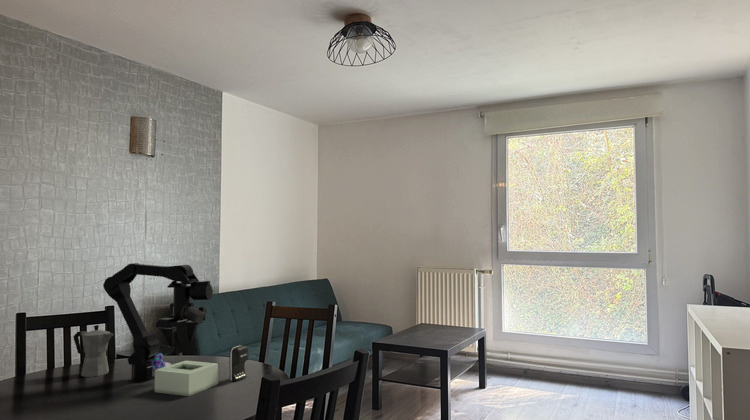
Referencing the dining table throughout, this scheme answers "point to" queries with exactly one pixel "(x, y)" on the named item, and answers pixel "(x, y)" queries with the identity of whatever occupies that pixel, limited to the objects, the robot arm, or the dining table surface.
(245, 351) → the battery charger
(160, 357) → the pudding
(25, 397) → the dining table surface
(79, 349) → the coffeepot
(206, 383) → the open box
